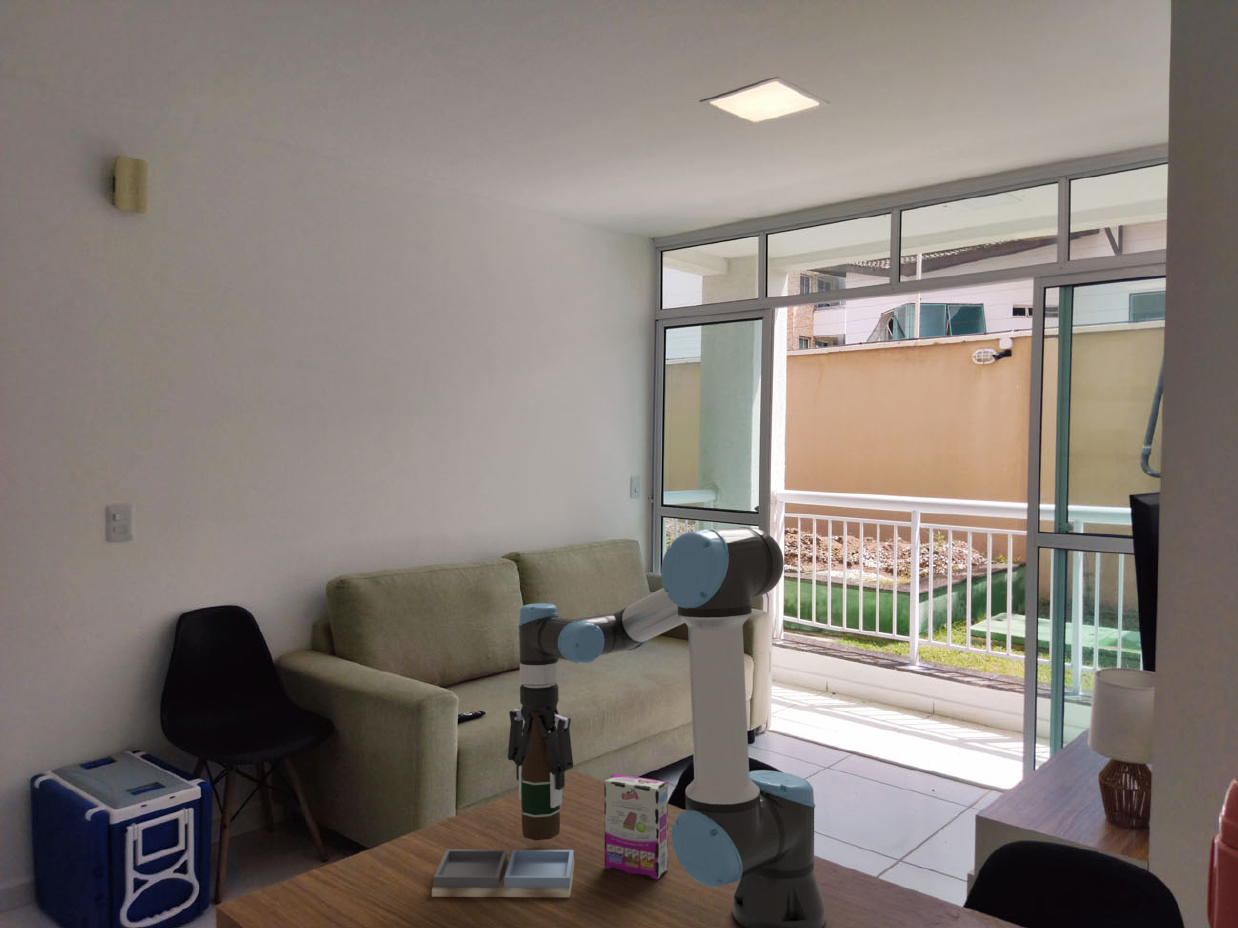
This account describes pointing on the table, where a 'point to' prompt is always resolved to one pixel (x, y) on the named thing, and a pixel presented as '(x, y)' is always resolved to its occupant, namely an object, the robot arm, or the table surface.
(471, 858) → the tray
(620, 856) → the candy bar box
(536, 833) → the beer bottle
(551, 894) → the board
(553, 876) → the light blue shallow tray
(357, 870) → the table surface
